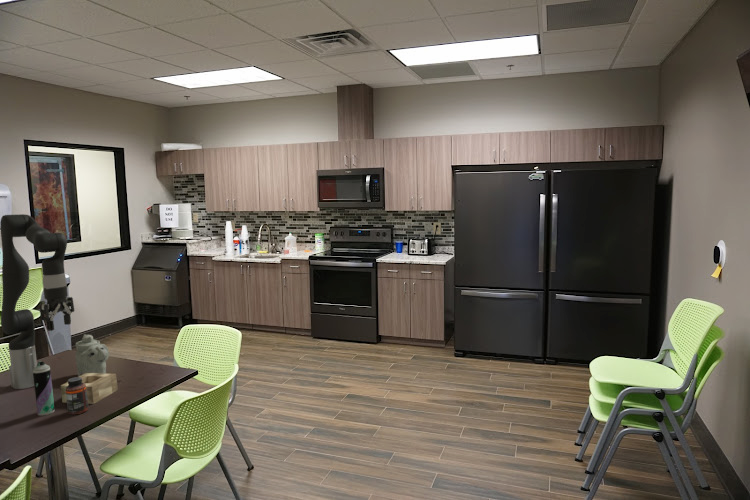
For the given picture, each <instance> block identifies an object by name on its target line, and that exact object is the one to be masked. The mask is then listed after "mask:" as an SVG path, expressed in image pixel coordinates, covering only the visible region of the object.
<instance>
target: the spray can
mask: <svg viewBox="0 0 750 500" xmlns="http://www.w3.org/2000/svg"><path fill="white" fill-rule="evenodd" d="M50 366H51V365H50V364H49V365H48V364H46V363H45V362H44V361H43V360H42V361H41V360H38V361H37V366H36V367H35V368H33V377H34V386H33V387H34V392H35V393H34V394H35V401H36V403H35V404H36V411H37V415H38V416H47V415H51V414H53V413H54V412H55V401H54V392H53V383H52V374H51V367H50Z"/></svg>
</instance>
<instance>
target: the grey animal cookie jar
mask: <svg viewBox="0 0 750 500" xmlns="http://www.w3.org/2000/svg"><path fill="white" fill-rule="evenodd" d="M75 349H76V352H75V357H74V358H75V362H76V369H77V377H79V376H81V375H83V374H85V373H104V374H107V363H106V362H107V361H108V359H109V357H110V351H109V348H108V346H107V345H106V344H104V343H101V342H100V340H97V339H94V336H93V335H92V334H83V337H82V339H81V340H80V341H77V342H75Z"/></svg>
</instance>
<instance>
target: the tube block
mask: <svg viewBox="0 0 750 500" xmlns="http://www.w3.org/2000/svg"><path fill="white" fill-rule="evenodd" d="M78 377H81V378H82V383H84V384H85V385H86V390H87V399H88V405H90V404H92V405H94V404H96V403H97V402H99V401H101V400H103V399H105V398H107V397H108V396H110V395H111V394H113V393H115V392H117V391H118V381H117V380H118V379H117V374H116V373H106V374H104V373H85V374H83V375H81V376H78ZM68 385H69V384H68V381H66V382H65V383H63V384H61V385H60V392H61V394H60V395H61V401H62V402H61V403H66V404H67V399H66V387H67V386H68Z"/></svg>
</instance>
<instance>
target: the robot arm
mask: <svg viewBox="0 0 750 500" xmlns="http://www.w3.org/2000/svg"><path fill="white" fill-rule="evenodd" d="M22 237H25V238H26V240H27V241H28V242H29V243H30V244H33V247H34V249H35V251H36V252H38V253H41V254H43V253H52V252H53V253H54V254H53V256H50V257H47V258H45V259H42V262H41V270H42V287H43V295H44V296H43V297H44V300H46V303H43V304H42V303H41V304H40V305H39V313H40V314H39V315H40V321H45V323H46V329H47V331H51V332H53V331H55V325H54V317H55V316H57V313H60V312H61V313H62V314H63V322H64V325H71V324H72V323H71V322H72V319H71V314H73V313H74V312H75V305H74V299H73V297H72V296H71V297H70V296H69V294H68V286H67V285H68V284H67V277H66V274H65V264H64V263H65V262H64V261H65V255H66V251H67V245H68V238H67V237H66V235H65V234H63V232H50V230H48V229H46V228H44V227H41V226H40V224H39V223H38V222H37V220H36V219H35V218H34V217H32V216H31V215H29V214H23V213H22V214H4V215H2V217H1V218H0V238H1V249H2V250H1V251H2V271H1V275H2V276H1V277H2V279H1V280H2V283H1V284H2V301H1V302H2V304H1V312H0V313H1V314H0V327H1V329H2V332H3V333H4V334H6V335H13V334H17V333H19V335H18V336H17V337H15V338H14V339H11V340H10V341H9V343H8V352H9V359H10V360H9V361H10V365H9V367H8V369H9V378H10V384H11V385H10V386H11V387H10V388H13V389H14V390H23V389H29V388H32V387H35V386H34V377H33V368H35V367H36V366H37V365H38V361H37V353H36V343H35V342H36V334H35V333H36V331H35V318H34V315H33V312H32V311H31V310H30V309H28V308H25V309H24V308H23V309H18V310H16V306H17V303H18V300H19V299H20V297H22V295H23V293H24V292H25V290H26V288H27V287H28V285H29V283H30V267H29V265H28V263H27V262H26V260H25V259H24V258H23V257H22V255H21V254H20V253H19V252H18V250H17V249H16V247H15V244H14V238H22ZM68 296H69V297H68Z"/></svg>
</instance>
